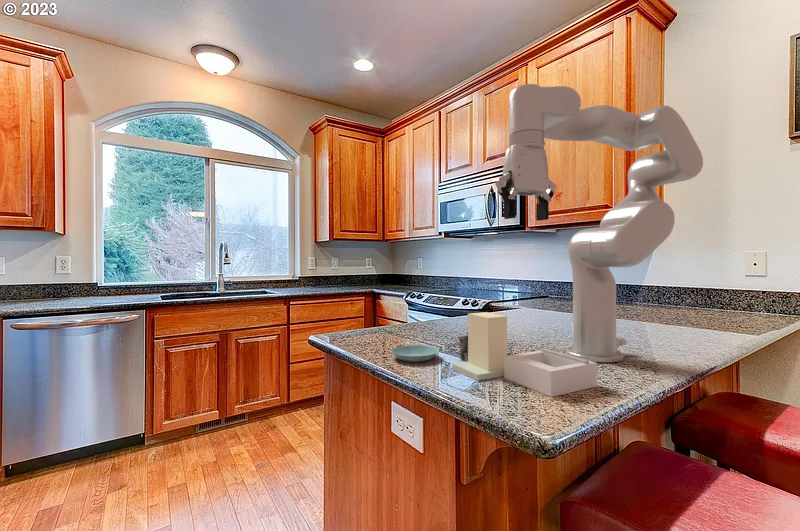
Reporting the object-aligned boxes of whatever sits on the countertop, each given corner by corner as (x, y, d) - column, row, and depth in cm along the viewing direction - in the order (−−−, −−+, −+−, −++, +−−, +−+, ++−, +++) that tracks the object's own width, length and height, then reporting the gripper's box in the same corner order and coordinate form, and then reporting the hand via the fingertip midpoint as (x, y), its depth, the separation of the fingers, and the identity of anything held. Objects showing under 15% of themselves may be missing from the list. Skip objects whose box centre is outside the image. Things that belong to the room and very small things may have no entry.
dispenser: (547, 369, 83) (547, 347, 83) (596, 386, 72) (596, 360, 72) (504, 377, 77) (504, 353, 77) (550, 396, 67) (550, 368, 67)
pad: (495, 362, 89) (495, 357, 89) (523, 372, 81) (523, 366, 81) (452, 369, 84) (452, 363, 84) (477, 380, 76) (477, 374, 76)
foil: (526, 346, 91) (481, 316, 86) (504, 386, 90) (457, 357, 85) (498, 335, 102) (457, 307, 97) (478, 370, 101) (436, 344, 96)
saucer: (381, 358, 94) (381, 349, 94) (417, 350, 102) (417, 342, 102) (411, 368, 85) (411, 358, 85) (449, 360, 92) (449, 350, 92)
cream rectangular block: (486, 360, 87) (485, 312, 86) (507, 367, 80) (507, 316, 80) (468, 362, 84) (467, 313, 84) (488, 371, 78) (488, 318, 78)
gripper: (541, 152, 93) (541, 222, 93) (485, 143, 85) (485, 219, 86) (567, 143, 86) (567, 219, 86) (508, 133, 79) (508, 216, 79)
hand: (526, 219), depth 86 cm, fingers open, 9 cm apart
